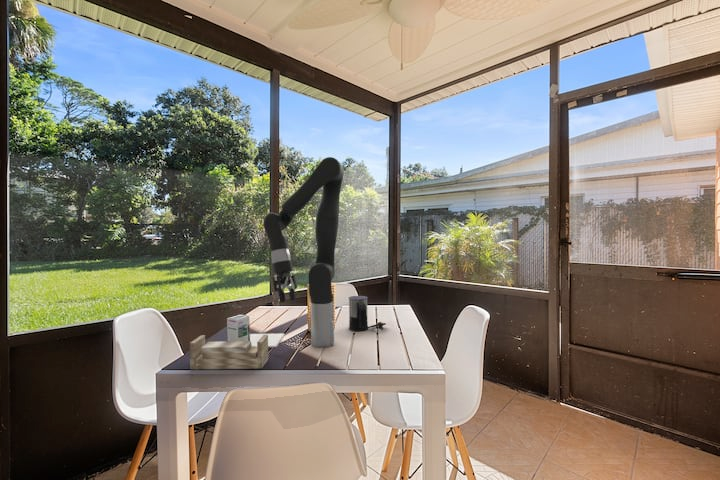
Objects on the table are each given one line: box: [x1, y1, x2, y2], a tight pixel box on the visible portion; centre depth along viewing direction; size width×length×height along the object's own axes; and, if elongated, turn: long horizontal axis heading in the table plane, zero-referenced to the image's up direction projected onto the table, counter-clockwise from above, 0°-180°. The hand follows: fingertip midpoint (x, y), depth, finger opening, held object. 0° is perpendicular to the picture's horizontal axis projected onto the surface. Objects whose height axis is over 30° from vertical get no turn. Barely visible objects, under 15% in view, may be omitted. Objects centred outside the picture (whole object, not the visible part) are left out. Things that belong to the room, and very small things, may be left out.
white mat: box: [250, 333, 285, 349], centre depth 140 cm, size 16×16×1 cm
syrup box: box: [226, 314, 251, 341], centre depth 125 cm, size 6×6×14 cm
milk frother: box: [348, 295, 387, 332], centre depth 157 cm, size 14×16×15 cm
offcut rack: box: [189, 334, 269, 370], centre depth 116 cm, size 24×8×9 cm, turn 91°
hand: (288, 301), depth 133 cm, fingers open, 8 cm apart
